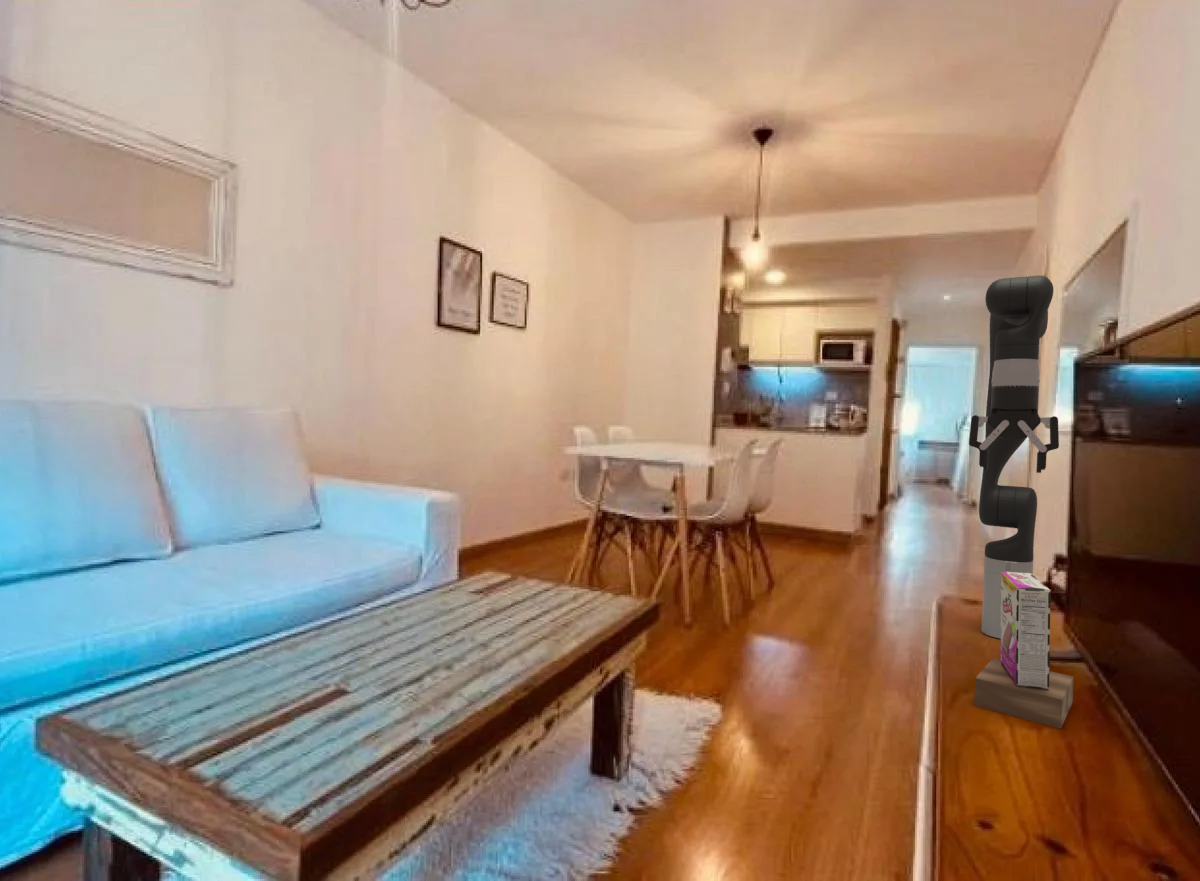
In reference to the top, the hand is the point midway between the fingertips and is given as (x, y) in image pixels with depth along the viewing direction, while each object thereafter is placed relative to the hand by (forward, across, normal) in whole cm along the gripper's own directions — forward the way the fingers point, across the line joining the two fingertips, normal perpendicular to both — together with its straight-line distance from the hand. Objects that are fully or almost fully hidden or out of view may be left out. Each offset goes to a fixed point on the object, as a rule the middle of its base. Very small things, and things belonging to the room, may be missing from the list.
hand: (1011, 471), depth 125 cm
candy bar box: (+34, -3, +15) cm, 37 cm away
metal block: (+39, -3, +15) cm, 42 cm away
